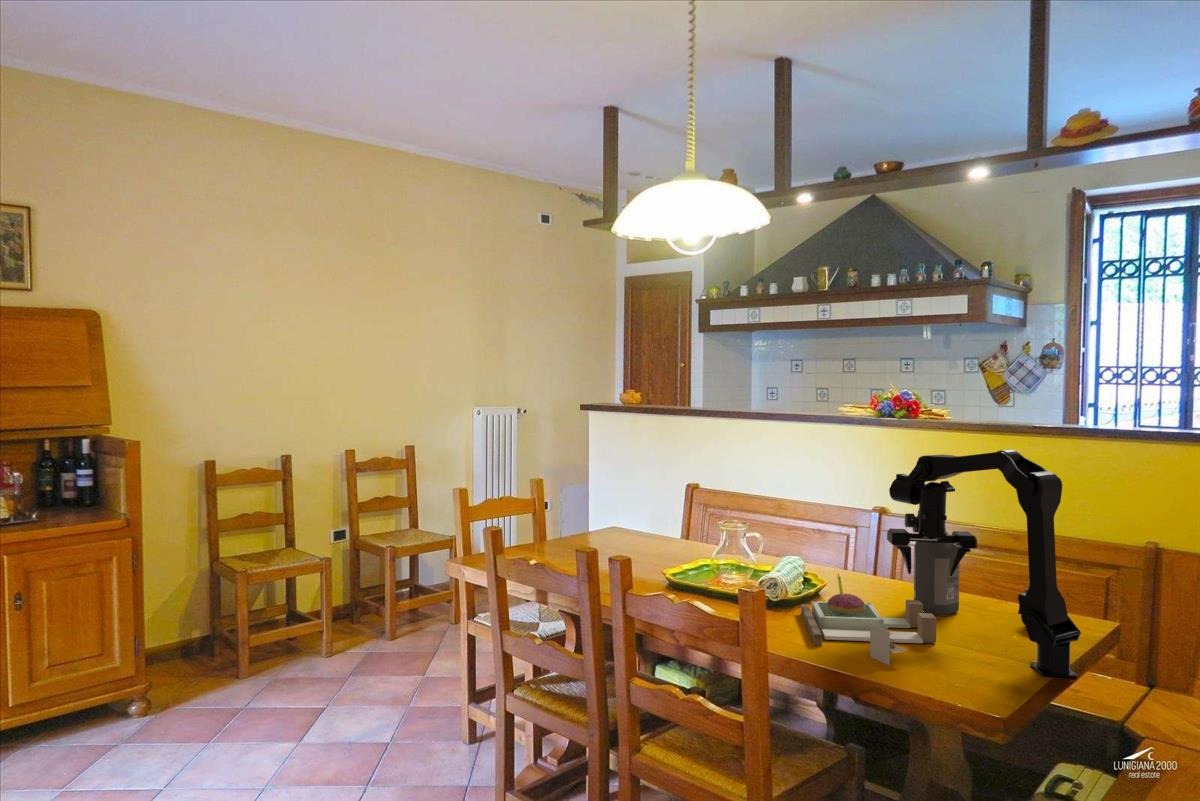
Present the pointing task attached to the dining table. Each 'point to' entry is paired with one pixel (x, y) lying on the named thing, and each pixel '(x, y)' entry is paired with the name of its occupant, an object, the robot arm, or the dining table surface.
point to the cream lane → (924, 632)
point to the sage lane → (864, 623)
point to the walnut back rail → (811, 625)
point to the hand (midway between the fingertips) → (929, 574)
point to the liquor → (935, 578)
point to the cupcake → (845, 604)
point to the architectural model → (882, 644)
